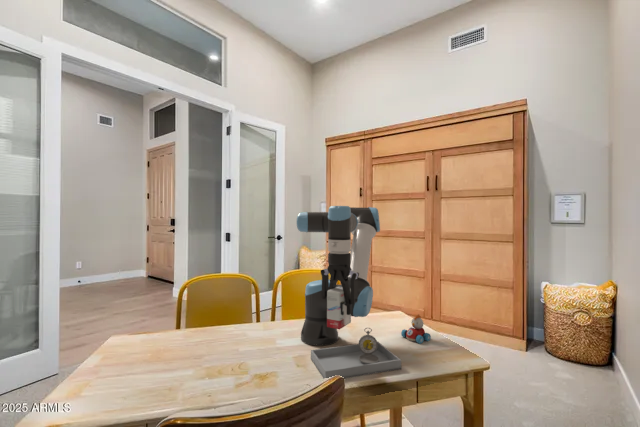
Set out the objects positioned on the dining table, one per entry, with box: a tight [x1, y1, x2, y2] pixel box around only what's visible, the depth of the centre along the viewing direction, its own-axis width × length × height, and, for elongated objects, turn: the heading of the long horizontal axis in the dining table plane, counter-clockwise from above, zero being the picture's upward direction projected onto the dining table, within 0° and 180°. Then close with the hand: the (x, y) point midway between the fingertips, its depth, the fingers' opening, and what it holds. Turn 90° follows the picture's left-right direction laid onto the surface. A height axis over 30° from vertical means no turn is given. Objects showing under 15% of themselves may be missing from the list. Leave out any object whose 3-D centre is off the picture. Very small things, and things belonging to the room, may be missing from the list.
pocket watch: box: [357, 327, 379, 364], centre depth 110 cm, size 8×8×10 cm
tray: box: [310, 341, 402, 379], centre depth 108 cm, size 26×16×3 cm, turn 108°
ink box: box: [327, 287, 352, 330], centre depth 106 cm, size 9×5×12 cm, turn 148°
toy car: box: [401, 313, 432, 344], centre depth 131 cm, size 9×9×10 cm
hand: (339, 322), depth 106 cm, fingers closed on ink box, 5 cm apart
